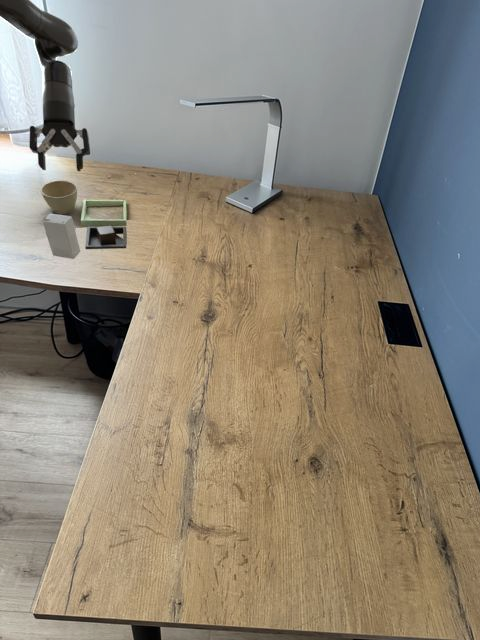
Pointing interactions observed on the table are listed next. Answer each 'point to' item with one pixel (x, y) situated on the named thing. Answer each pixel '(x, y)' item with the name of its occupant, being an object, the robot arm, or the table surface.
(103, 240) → the dark block
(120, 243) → the dark tray
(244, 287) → the table surface
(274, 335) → the table surface
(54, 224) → the cosmetic box
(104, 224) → the light tray
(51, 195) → the bowl
